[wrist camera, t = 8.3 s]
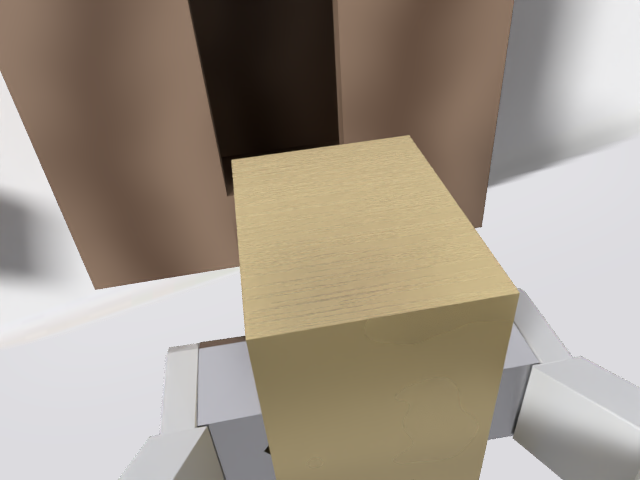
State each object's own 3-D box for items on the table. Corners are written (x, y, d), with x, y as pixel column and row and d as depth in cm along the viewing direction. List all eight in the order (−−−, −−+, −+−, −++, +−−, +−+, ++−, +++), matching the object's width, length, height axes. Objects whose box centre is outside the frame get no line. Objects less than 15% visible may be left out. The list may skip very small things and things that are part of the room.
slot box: (430, -192, 24) (544, -211, 16) (415, 136, 33) (481, 227, 25) (9, -158, 22) (-101, -161, 14) (122, 178, 32) (95, 289, 24)
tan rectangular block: (409, 135, 9) (519, 293, 6) (399, 366, 13) (465, 542, 9) (231, 160, 9) (245, 340, 6) (274, 389, 12) (297, 578, 9)
